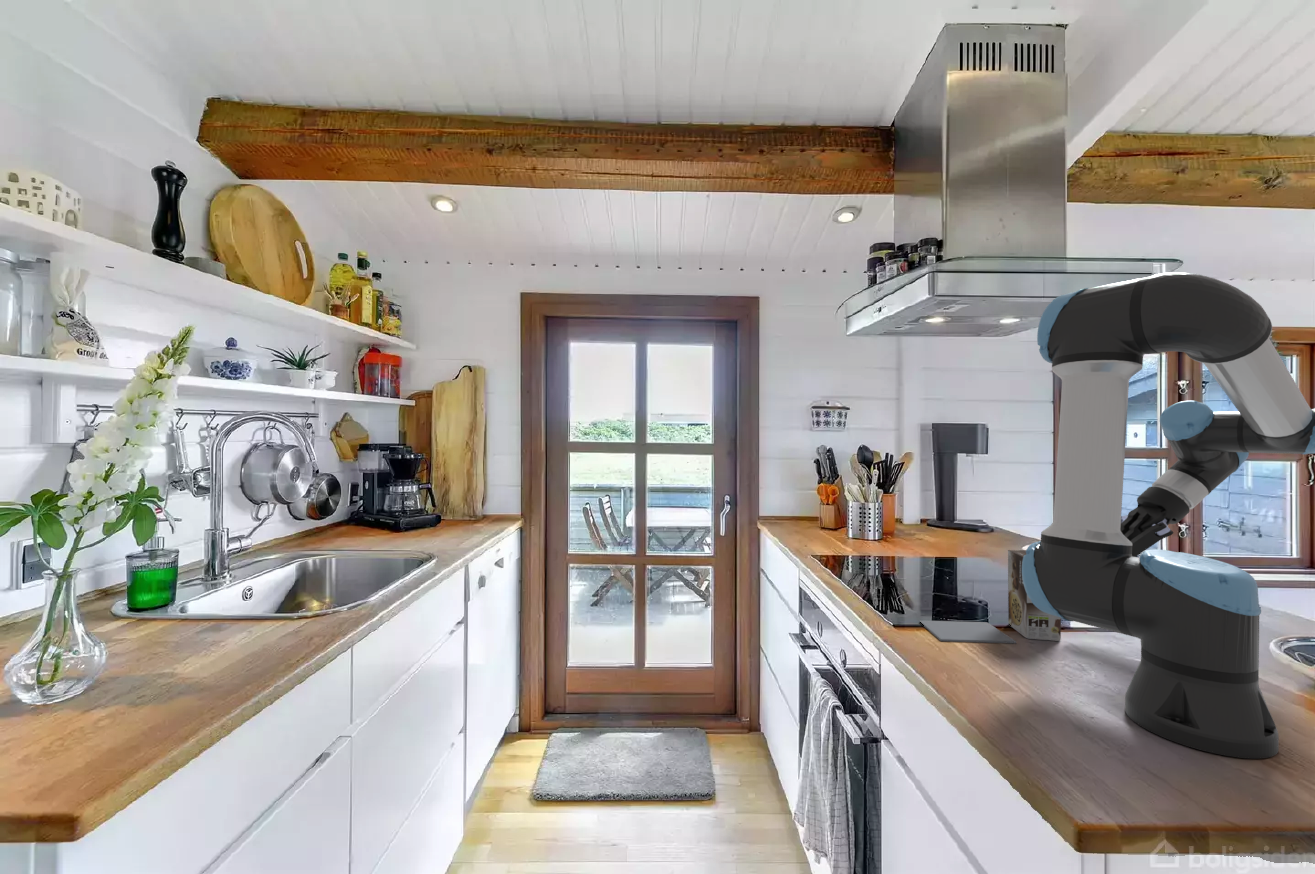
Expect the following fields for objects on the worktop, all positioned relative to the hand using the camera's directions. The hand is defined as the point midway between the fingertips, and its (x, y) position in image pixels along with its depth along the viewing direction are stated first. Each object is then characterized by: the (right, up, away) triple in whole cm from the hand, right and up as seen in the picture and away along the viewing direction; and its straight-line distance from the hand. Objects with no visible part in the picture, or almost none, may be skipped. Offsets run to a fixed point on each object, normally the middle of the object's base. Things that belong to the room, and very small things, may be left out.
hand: (1081, 579), depth 113 cm
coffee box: (-9, -11, +1) cm, 15 cm away
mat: (-23, -11, +1) cm, 26 cm away
